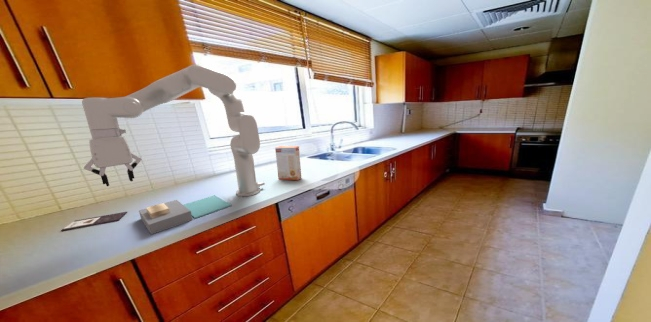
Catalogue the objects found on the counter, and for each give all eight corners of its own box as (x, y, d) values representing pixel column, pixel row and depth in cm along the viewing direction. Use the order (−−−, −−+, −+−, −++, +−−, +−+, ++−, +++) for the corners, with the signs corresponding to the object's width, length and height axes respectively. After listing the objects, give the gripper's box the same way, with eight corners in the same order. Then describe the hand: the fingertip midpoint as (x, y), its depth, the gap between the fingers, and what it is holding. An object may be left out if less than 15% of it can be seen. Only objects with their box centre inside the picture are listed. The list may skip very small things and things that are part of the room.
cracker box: (301, 178, 142) (299, 145, 137) (297, 180, 137) (294, 147, 132) (283, 176, 147) (280, 145, 142) (278, 179, 142) (274, 147, 137)
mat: (214, 196, 118) (214, 195, 118) (232, 205, 105) (231, 204, 104) (180, 206, 106) (180, 205, 106) (195, 218, 93) (194, 217, 93)
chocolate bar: (118, 219, 95) (61, 230, 88) (118, 221, 95) (61, 232, 88) (127, 211, 103) (75, 220, 96) (127, 213, 103) (75, 222, 96)
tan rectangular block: (164, 207, 97) (163, 202, 96) (170, 212, 91) (168, 208, 90) (147, 212, 93) (146, 207, 92) (152, 218, 87) (150, 213, 86)
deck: (178, 207, 106) (176, 199, 105) (192, 219, 92) (190, 210, 92) (141, 218, 96) (138, 210, 95) (151, 234, 82) (148, 224, 82)
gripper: (136, 131, 86) (146, 175, 90) (70, 136, 74) (86, 187, 78) (139, 131, 81) (150, 178, 85) (69, 137, 69) (86, 192, 73)
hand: (119, 182), depth 82 cm, fingers open, 5 cm apart
